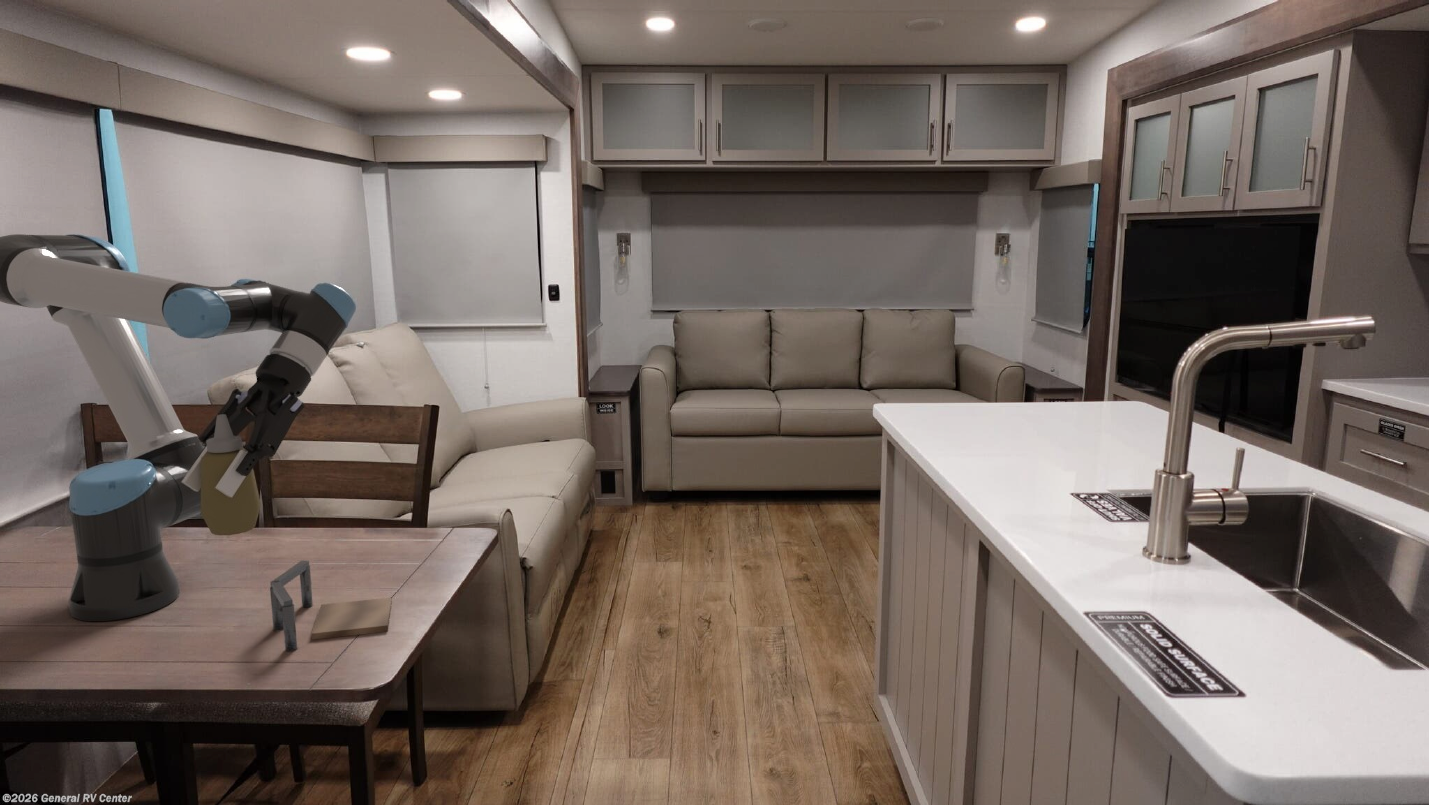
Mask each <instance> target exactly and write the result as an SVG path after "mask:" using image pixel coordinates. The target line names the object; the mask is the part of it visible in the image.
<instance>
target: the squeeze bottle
mask: <svg viewBox="0 0 1429 805" xmlns="http://www.w3.org/2000/svg"><path fill="white" fill-rule="evenodd" d="M216 415H217V414H216ZM242 439H243V438H242V437H241V436H240V435H237V436H233V433H232V430H231V427H230V425H229V422H228V419H227V416H226V415H225V414H222V415H217V420H216V427H215V434H214V438H211V439H208V440H207V441H206V443H207V451H208V452H209V453H207V454H205V455H204V456H203V457H201V516H202V519H203V520H204V522H205V524H206V526H207V528H208V529H209V532H210V533H211V534H213V535H214V536H232V535H239V534H243V533H247V532H249V531H252V530H253V529H254V528H255V527H256V524H257V521H258V517H259V513H260V510H261V506H262V504H261V498H260V494H259V490H258V485H257V481H256V476H255V471H254V468H253V469H252V470H251V472H250V473H249V474H248V475H247V476H246V477H245V478H244V480H243V481H242V483H241V485H240V486H239V488H238V489H237V491H236V492H235V494H234V495H233V497H228V496H226V495H225V494H223V493H222V492H220V491H219V490H218V489H216V488H215V487H216V486H217V484H218V483H219V481H220V480H221V478H222V477H223V475H224V474H225V472H226V471H227V469H228V468H229V466H230V465H231V463H232V462H233V460H234V459H235V457H236V456H237V454H238V453H239V451H240V450H244V451H245V452H248V451H247V450H245V449H244V448H243V440H242Z"/></svg>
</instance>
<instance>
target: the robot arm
mask: <svg viewBox="0 0 1429 805" xmlns="http://www.w3.org/2000/svg"><path fill="white" fill-rule="evenodd" d="M0 302H1V303H4V304H8V305H13V306H18V307H19V306H20V307H25V308H30V309H43V308H46V309H47V311H48V312H49V314H50V316H51V318H52V321H54V322H56V323H59V324H62V325H65V326H67V327H68V329H69V331H70V333H71V335H72V337H73V338H74V341H75V343H76V345H77V346H78V349H79V351H80V352H81V354H82V356H83V358H84V360H85V362H86V364H87V366H88V367H89V370H90V371H91V373H92V375H93V378H94V380H95V381H96V383H97V385H98V388H99V390H100V391H101V393H102V394H103V397H104V398H105V401H106V403H107V405H108V406H109V409H110V410H111V413H112V414H113V416H114V418H115V420H116V423H117V424H118V426H119V428H120V430H121V432H122V433H123V434H122V435H123V436H124V437H125V439H126V441H127V443H128V445H129V447H130V452H129V455H128V457H127V458H126V459H120V460H119V459H118V460H115V461H112V462H104V463H101V464H97V465H94V466H90V467H88V468H86V469H85V470H82V471H80V472H79V473H77V474H76V475H75V476H74V477H73V479H71V481H70V484H69V486H68V488H69V501H68V507H69V510H70V515H71V523H72V529H73V534H74V535H73V536H74V537H73V538H74V542H75V551H76V552H75V553H76V560H77V570H76V573H75V576H74V580H73V584H72V588H71V592H70V594H69V599H68V605H69V606H68V607H69V612H70V616H71V617H72V618H74V619H77V620H79V621H84V622H107V621H110V622H111V621H119V620H122V619H123V620H124V619H130V618H134V617H139V616H141V615H145V614H149V613H151V612H154V611H156V610H159V609H162V608H164V607H166V606H168V605H170V604H171V603H172V602H175V600H176V599H178V597H179V595H180V584H179V580H178V578H177V576H176V574H175V572H174V570H173V568H172V566H171V565H170V563H169V561H168V559H167V556H166V555H165V552H164V549H163V542H162V541H163V540H162V531H161V530H163V529H165V528H168V527H171V526H173V525H175V524H179V523H181V522H183V521H185V520H189V519H191V518H193V517H198V516H202V514H201V457H203V456H204V455H205V454H207V453H209V452H208V451H207V443H206V441H207V440H208V439H211V438H214V434H215V427H216V420H217V415H222V414H225V415H226V416H227V419H228V422H229V425H230V427H231V430H232V433H233V436H239V434H241V433H242V431H243V430H244V429H245V428H246V427H247V426H248V425H249V424H251V423H253V422H255V423H254V424H255V425H254V427H253V430H252V433H251V435H250V438H249V440H248V444H244V445H242V449H243V450H240V451H239V453H238V454H237V456H236V457H235V459H234V460H233V462H232V463H231V465H230V466H229V468H228V469H227V471H226V472H225V474H224V475H223V477H222V478H221V480H220V481H219V483H218V484H217V486H216V487H215V488H216V489H218V490H219V491H220V492H222V493H223V494H225V495H226V496H228V497H233V495H234V494H235V492H236V491H237V489H238V488H239V486H240V485H241V483H242V481H243V480H244V478H245V477H246V476H247V475H248V474H249V473H250V472H251V470H252V469H253V470H254V467H255V466H256V464H257V463H258V461H259V460H262V459H263V458H264V457H267V456H268V457H269V458H272V457H274V456H275V455H276V453H277V451H278V450H279V448H280V446H281V445H282V443H283V440H284V439H285V437H286V435H287V433H288V432H289V430H290V428H291V426H292V424H293V423H294V421H295V419H296V417H297V416H299V414H300V413H301V411H302V410H304V408H305V406H306V404H305V403H304V402H303V401H302V400H301V399H300V398H299V397H301V396H302V395H303V394H304V392H305V391H306V389H307V388H308V386H309V385H310V383H311V381H312V377H314V376H315V374H316V373H317V372H318V370H319V369H320V367H321V365H322V364H323V362H324V361H325V359H326V358H327V356H328V355H329V353H330V351H331V349H332V348H333V347H334V345H335V344H336V343H337V341H338V339H339V338H340V337H341V336H342V334H343V333H344V331H345V330H346V329H347V328H348V326H349V323H350V322H351V320H352V317H353V316H354V314H355V313H356V309H357V305H356V301H355V300H354V299H353V297H352V296H351V295H350V294H349V292H347V291H346V290H344V289H343V288H342V287H340V286H338V285H336V284H334V283H330V282H322V283H321V282H320V283H317V284H316V285H315V286H314V287H313V288H311V290H310V291H309V292H305V291H298V290H294V289H290V288H288V287H283V286H279V285H276V284H272V283H270V282H266V281H264V280H259V279H257V280H255V279H250V278H240V279H238V280H236V282H235V283H232V284H231V285H228V286H227V285H225V286H208V285H202V284H197V283H190V282H186V281H181V280H176V279H170V278H164V277H160V276H159V277H158V276H156V275H155V276H154V275H148V274H143V273H140V272H139V273H138V272H133V271H131V270H130V266H129V264H128V262H127V260H126V258H125V256H124V255H123V254H122V253H121V251H120V250H119V249H118V248H117V247H116V246H114V245H113V244H112V243H110V242H109V241H108V240H104V239H102V238H100V237H97V236H96V237H95V236H86V235H83V234H75V233H74V234H66V235H63V234H60V235H58V234H57V235H55V234H48V235H47V234H18V233H16V234H9V235H7V234H6V235H3V236H2V235H1V236H0ZM131 321H132V322H136V323H141V324H145V325H152V326H157V327H162V328H168V329H170V330H171V331H173V332H174V334H177V336H179V337H182V338H186V339H210V338H214V337H219V336H225V335H232V334H239V333H249V332H254V331H255V332H256V331H263V330H269V331H274V332H278V333H281V334H280V335H279V337H278V338H277V340H276V341H275V342H274V344H273V345H272V347H271V348H270V349H269V354H267V355H266V356H265V357H264V358H263V360H262V361H261V363H260V364H259V365H258V367H257V369H256V370H255V377H256V381H255V382H254V384H253V385H252V386H250V387H249V389H247V390H244V391H241V389H239V388H235V389H233V390H232V392H231V394H230V395H229V397H228V400H227V401H226V403H225V404H224V405H223V406H222V407H221V409H220V410H219V411H218V412H217V414H216V416H214V418H213V419H212V420H211V421H210V423H209V424H208V425H207V426H206V427H205V429H204V430H203V432H202V433H201V434H200V435H199V436H198V435H197V434H196V433H192V432H189V431H187V430H186V429H184V427H183V425H182V423H181V421H180V419H179V417H178V415H177V413H176V411H175V409H174V407H173V405H172V404H171V401H170V399H169V397H168V395H167V393H166V391H165V389H164V387H163V386H162V384H161V382H160V379H159V378H158V376H157V374H156V372H155V369H154V368H153V366H152V363H151V362H150V359H149V358H148V356H147V354H146V353H145V350H144V349H143V347H142V345H141V342H140V340H139V339H138V337H137V336H138V335H137V334H136V332H135V330H134V329H133V327H132V326H133V325H131V323H130V322H131ZM203 444H204V446H203ZM244 450H246V451H248V452H245V451H244Z"/></svg>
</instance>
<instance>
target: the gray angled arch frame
mask: <svg viewBox="0 0 1429 805" xmlns="http://www.w3.org/2000/svg"><path fill="white" fill-rule="evenodd" d="M309 561H310V560H300V561H299V562H298V563H296V564H294V566H292V567H290V568H289V569H287V570H286V571H284V572H283V573H282V574H280V575H278V577H276V578H274V579H273V580H272V581H270V586H269V592H270V605H271V606H270V607H271V615H272V628H273V629H272V630H273V631H282V630H283V635H284V636H283V637H284V647H285V648H284V650H285V652H287V653H288V652H295V651H296V650H297V649H298V643H297V642H298V641H297V638H298V637H297V628H296V616H295V615H296V613H295V605H294V602H293V598H292V597H291V595H290V594H289V593H288V591H287V589H286V588H285V587H284V586H286V585H287V584H288V583H290V582H292V581H293V580H294V579H295V578H297V577H298V576H299V583H300V598H301V607H302V608H304V609H305V608H311V607H312V606H314V605H313V592H312V590H313V589H312V578H311V577H312V576H311V566H310V562H309Z"/></svg>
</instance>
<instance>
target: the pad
mask: <svg viewBox="0 0 1429 805" xmlns="http://www.w3.org/2000/svg"><path fill="white" fill-rule="evenodd" d="M392 604H393V599H392V597H386V598H385V597H384V598H375V599H364V600H363V599H362V600H353V601H344V602H335V603H322V604H320V608H319V610H318V613H317V617H316V620H315V622H314V625H313V628H312V631H311V640H313V641H314V640H322V639H330V638H338V637H340V638H341V637H348V636H349V637H350V636H357V635H366V634H374V633H376V634H377V633H384V632H388V631H389V626H390V620H389V619H391V613H392V612H391V610H392V606H391V605H392ZM390 612H391V613H390Z"/></svg>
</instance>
